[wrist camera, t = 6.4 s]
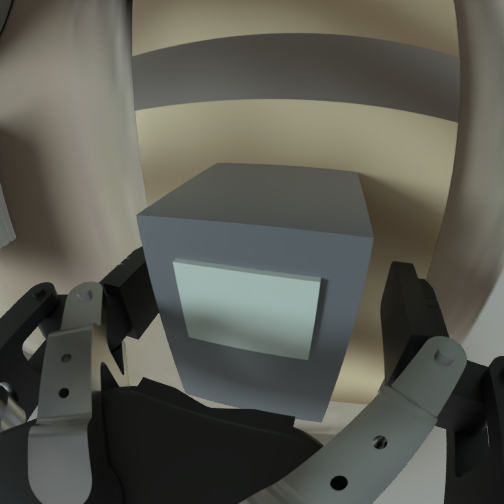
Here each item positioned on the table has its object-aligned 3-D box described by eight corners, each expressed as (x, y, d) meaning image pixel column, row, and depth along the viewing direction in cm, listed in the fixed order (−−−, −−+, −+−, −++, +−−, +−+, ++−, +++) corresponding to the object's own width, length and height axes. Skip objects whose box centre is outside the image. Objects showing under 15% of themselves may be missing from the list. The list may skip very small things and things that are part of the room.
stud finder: (333, 326, 13) (320, 426, 8) (228, 310, 14) (184, 396, 10) (357, 172, 9) (374, 242, 5) (217, 162, 10) (132, 218, 6)
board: (371, 389, 16) (370, 404, 15) (194, 359, 19) (187, 372, 18) (431, -54, 4) (438, -65, 3) (151, -43, 7) (136, -50, 6)
